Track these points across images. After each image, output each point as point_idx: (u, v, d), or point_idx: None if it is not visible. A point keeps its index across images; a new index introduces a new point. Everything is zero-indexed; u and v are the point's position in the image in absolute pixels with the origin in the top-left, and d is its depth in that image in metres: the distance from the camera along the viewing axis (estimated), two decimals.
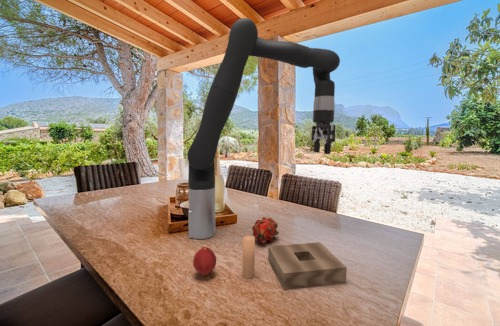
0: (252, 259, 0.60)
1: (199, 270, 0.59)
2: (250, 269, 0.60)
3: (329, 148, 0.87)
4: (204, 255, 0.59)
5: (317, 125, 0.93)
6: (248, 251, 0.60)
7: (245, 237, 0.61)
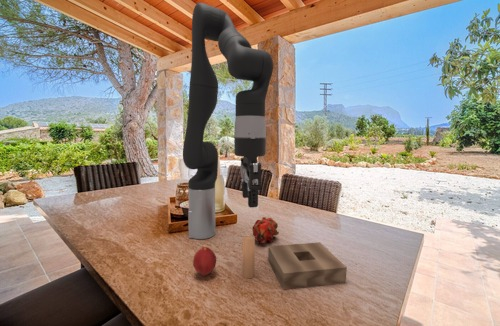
0: (252, 259, 0.60)
1: (199, 270, 0.59)
2: (250, 269, 0.60)
3: (254, 199, 0.55)
4: (204, 255, 0.59)
5: (243, 159, 0.61)
6: (248, 251, 0.60)
7: (245, 237, 0.61)
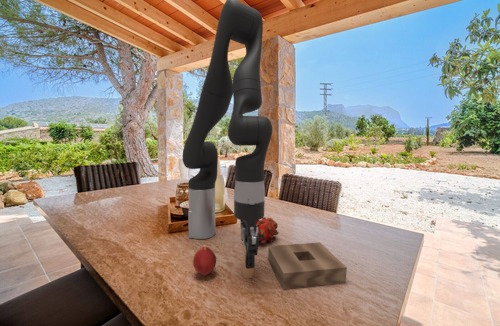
0: None
1: (199, 270, 0.59)
2: (250, 269, 0.60)
3: (251, 261, 0.59)
4: (204, 255, 0.59)
5: None
6: None
7: None
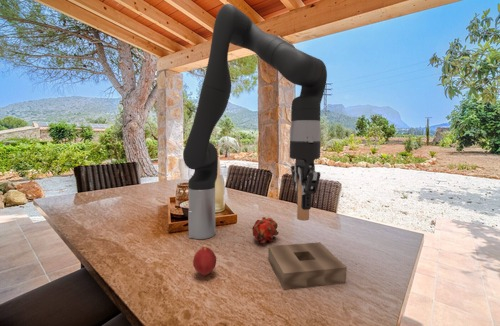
0: None
1: (199, 270, 0.59)
2: (306, 211, 0.61)
3: (308, 202, 0.59)
4: (204, 255, 0.59)
5: (296, 160, 0.63)
6: None
7: None
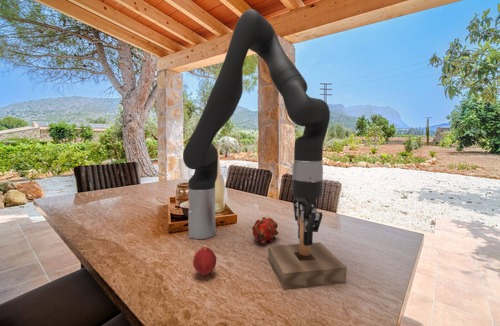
0: None
1: (199, 270, 0.59)
2: (308, 246, 0.63)
3: (310, 238, 0.61)
4: (204, 255, 0.59)
5: None
6: None
7: None
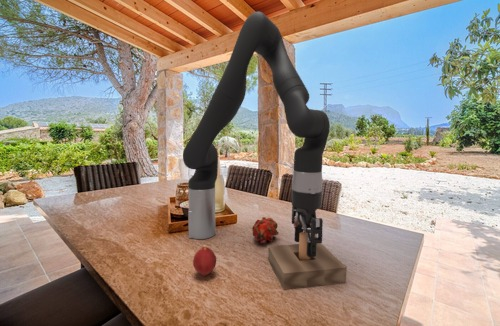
0: None
1: (199, 270, 0.59)
2: None
3: (314, 250, 0.59)
4: (204, 255, 0.59)
5: None
6: (305, 246, 0.62)
7: (301, 233, 0.64)
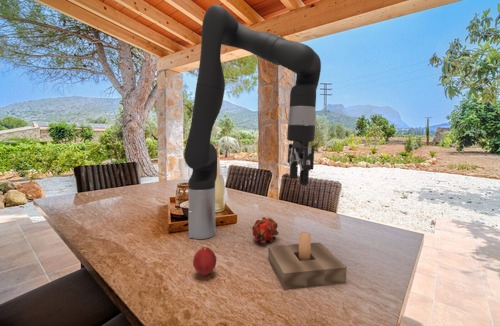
0: (309, 254, 0.63)
1: (199, 270, 0.59)
2: None
3: (306, 177, 0.64)
4: (204, 255, 0.59)
5: (293, 144, 0.70)
6: (305, 246, 0.62)
7: (301, 233, 0.64)
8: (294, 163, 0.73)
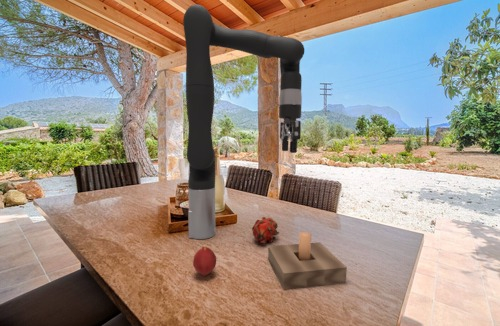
0: (309, 254, 0.63)
1: (199, 270, 0.59)
2: None
3: (295, 146, 0.79)
4: (204, 255, 0.59)
5: (284, 121, 0.85)
6: (305, 246, 0.62)
7: (301, 233, 0.64)
8: (285, 138, 0.88)
